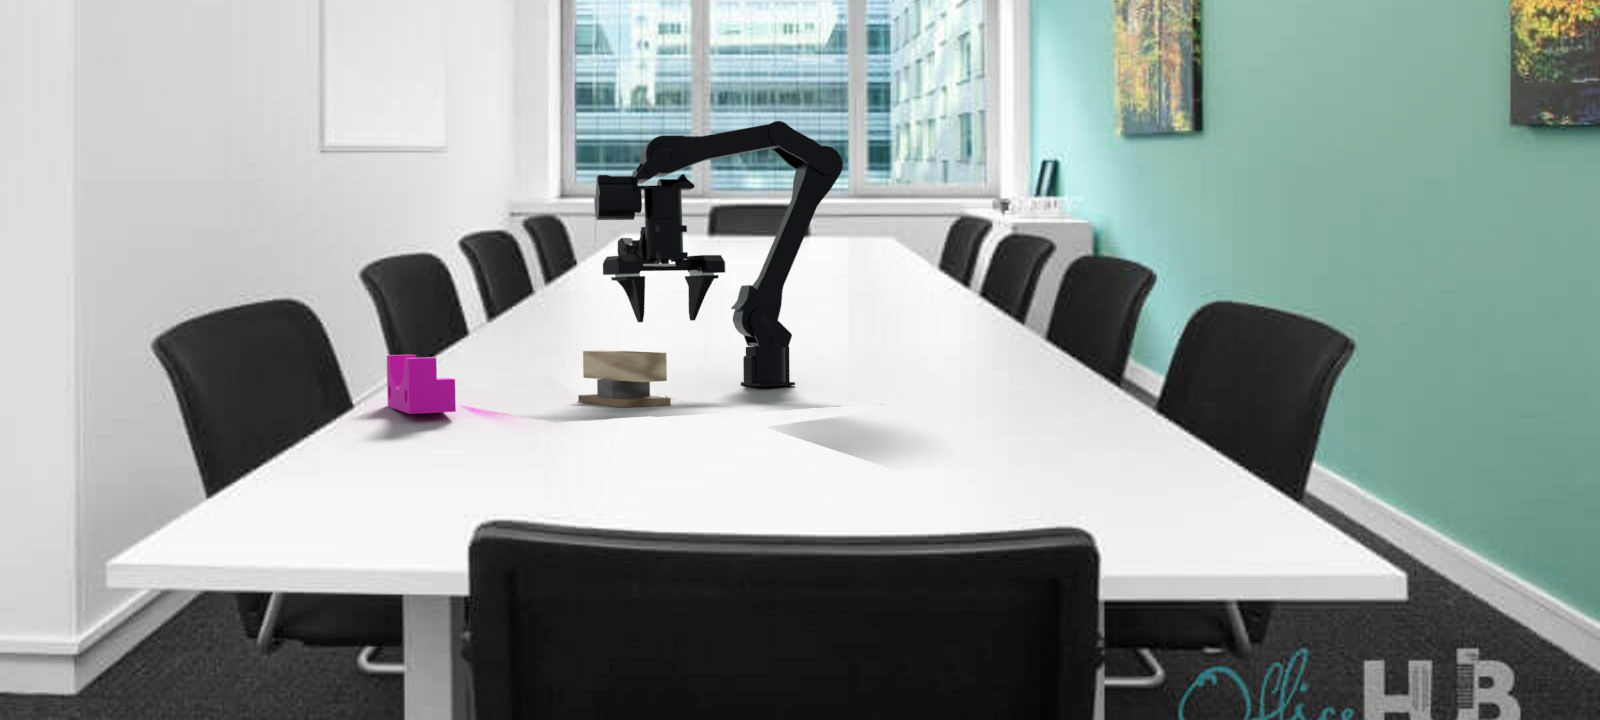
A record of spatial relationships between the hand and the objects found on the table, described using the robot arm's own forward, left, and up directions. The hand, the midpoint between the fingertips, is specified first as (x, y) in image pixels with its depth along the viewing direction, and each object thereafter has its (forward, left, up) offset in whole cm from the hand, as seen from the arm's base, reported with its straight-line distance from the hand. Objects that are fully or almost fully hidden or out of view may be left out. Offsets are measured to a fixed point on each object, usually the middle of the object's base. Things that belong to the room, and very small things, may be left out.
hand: (666, 321), depth 207 cm
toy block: (+37, -4, -12) cm, 39 cm away
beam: (+11, +7, -8) cm, 15 cm away
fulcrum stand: (+11, +7, -12) cm, 17 cm away
